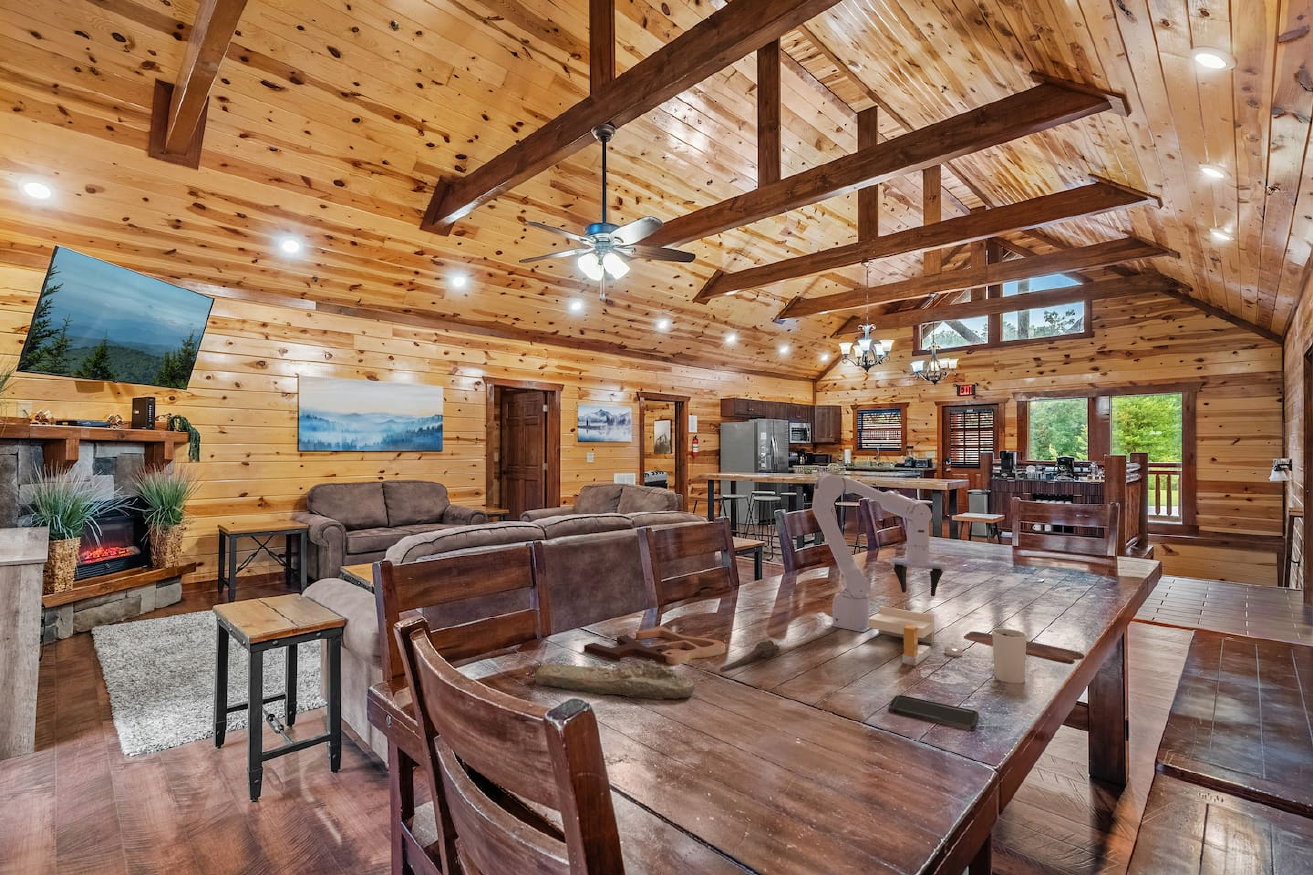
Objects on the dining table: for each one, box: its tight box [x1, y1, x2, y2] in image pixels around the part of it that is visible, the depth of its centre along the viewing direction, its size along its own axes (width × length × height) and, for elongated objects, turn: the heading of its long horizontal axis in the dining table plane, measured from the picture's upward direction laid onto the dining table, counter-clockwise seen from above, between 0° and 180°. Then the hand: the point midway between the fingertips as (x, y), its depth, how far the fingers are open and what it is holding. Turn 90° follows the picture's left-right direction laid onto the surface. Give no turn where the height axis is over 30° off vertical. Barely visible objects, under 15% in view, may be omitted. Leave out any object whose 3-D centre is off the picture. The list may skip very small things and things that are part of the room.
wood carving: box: [583, 625, 726, 665], centre depth 153 cm, size 28×2×24 cm
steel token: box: [944, 645, 964, 658], centre depth 152 cm, size 4×4×2 cm
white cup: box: [991, 628, 1027, 684], centre depth 136 cm, size 7×7×10 cm
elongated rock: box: [534, 660, 696, 701], centre depth 130 cm, size 35×5×10 cm
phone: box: [888, 694, 980, 731], centre depth 118 cm, size 8×1×15 cm
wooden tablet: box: [963, 631, 1085, 665], centre depth 158 cm, size 26×2×10 cm
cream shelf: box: [868, 605, 935, 645], centre depth 163 cm, size 14×9×7 cm, turn 49°
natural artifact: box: [719, 639, 781, 673], centre depth 147 cm, size 4×23×4 cm
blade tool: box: [902, 625, 932, 667], centre depth 149 cm, size 3×11×8 cm, turn 139°
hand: (918, 593), depth 173 cm, fingers open, 7 cm apart
